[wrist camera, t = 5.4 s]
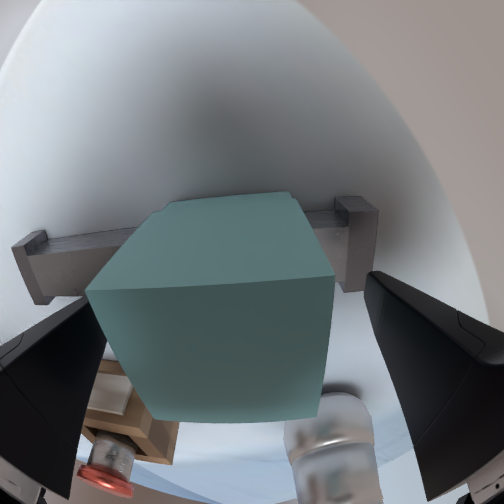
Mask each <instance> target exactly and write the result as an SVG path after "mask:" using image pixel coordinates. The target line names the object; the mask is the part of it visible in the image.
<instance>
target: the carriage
mask: <svg viewBox="0 0 504 504" xmlns="http://www.w3.org/2000/svg"><path fill="white" fill-rule="evenodd" d="M334 288H335V273H334V271H333V269H332V267H331V265H330V263H329V261H328V259H327V257H326V255H325V253H324V251H323V249H322V247H321V245H320V243H319V241H318V239H317V237H316V235H315V233H314V231H313V229H312V227H311V226H310V224H309V222H308V220H307V218H306V216H305V214H304V212H303V210H302V209H301V207H300V205H299V203H298V201H297V199H296V198H294V199H293V198H292V196H291V194H290V192H289V191H283V192H268V193H255V194H243V195H232V196H222V197H212V198H202V199H194V200H185V201H177V202H169V203H168V205H167V206H166V207H165V208H164V209H163V210H162V211H157V212H153V213H152V214H151V215H150V216H149V217H148V218H147V219H146V220H145V221H144V222H143V223H142V224H141V226H140V227H139V228H138V229H137V230H136V231H135V232H134V233H133V234H132V235H131V236H130V237H129V239H128V240H127V241H126V242H125V243H124V244H123V245H122V246H121V247H120V249H119V250H118V251H117V252H116V253H115V254H114V255H113V257H112V258H111V259H110V260H109V261H108V262H107V264H106V265H105V266H104V267H103V268H102V269H101V271H100V272H99V273H98V274H97V275H96V277H95V278H94V279H93V280H92V282H91V283H90V284H89V285H88V287H87V288H86V289H85V293H86V295H87V297H88V300H89V302H90V304H91V307H92V309H93V311H94V313H95V316H96V318H97V320H98V322H99V324H100V326H101V328H102V330H103V333H104V335H105V337H106V339H107V341H108V342H109V344H110V346H111V348H112V350H113V352H114V354H115V356H116V358H117V360H118V361H119V363H120V365H121V367H122V368H123V370H124V372H125V374H126V375H127V377H128V379H129V381H130V382H131V384H132V386H133V387H134V389H135V390H136V392H137V394H138V395H139V397H140V398H141V400H142V401H143V403H144V405H145V406H146V408H147V409H148V411H149V412H150V414H151V415H152V416H153V418H154V419H156V420H166V421H178V422H195V423H257V422H274V421H287V420H297V419H306V418H314V417H317V414H318V408H319V403H320V397H321V392H322V386H323V379H324V373H325V366H326V359H327V352H328V345H329V337H330V328H331V319H332V310H333V299H334Z"/></svg>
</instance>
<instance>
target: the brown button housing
mask: <svg viewBox="0 0 504 504" xmlns="http://www.w3.org/2000/svg"><path fill="white" fill-rule="evenodd" d="M179 423H180V422H178V421H166V420H156V419H154V418H153V416H152V415H151V414H150V412H149V411H148V409H147V408H146V406H145V405H144V403H143V401H142V400H141V398H140V397H139V395H138V394H137V392H136V390H135V389H134V387H133V386H132V384H131V382H130V381H129V379H128V377H127V375H126V374H125V372H124V370H123V368H122V367H121V365H120V363H119V361H109V360H101V363H100V366H99V369H98V372H97V376H96V379H95V382H94V385H93V389H92V392H91V396H90V399H89V403H88V407H87V411H86V414H85V418H84V422H83V426H82V431H81V433H82V434H83V435H84V436H85V437H86V438H87V439H88V440H89V441H90V442H91V443H92V444H93V443H94V441H95V438H96V435H97V432H98V429H101V430H106V431H110V432H115V433H120V434H125V435H128V436H129V437H130V438H131V439H132V440H133V441H134V442H135V443H136V444H137V445H138V446H137V450H136V454H135V458H134V459H136V460H141V461H147V462H153V463H159V464H166V465H172V463H173V457H174V451H175V445H176V439H177V434H178V428H179Z"/></svg>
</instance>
